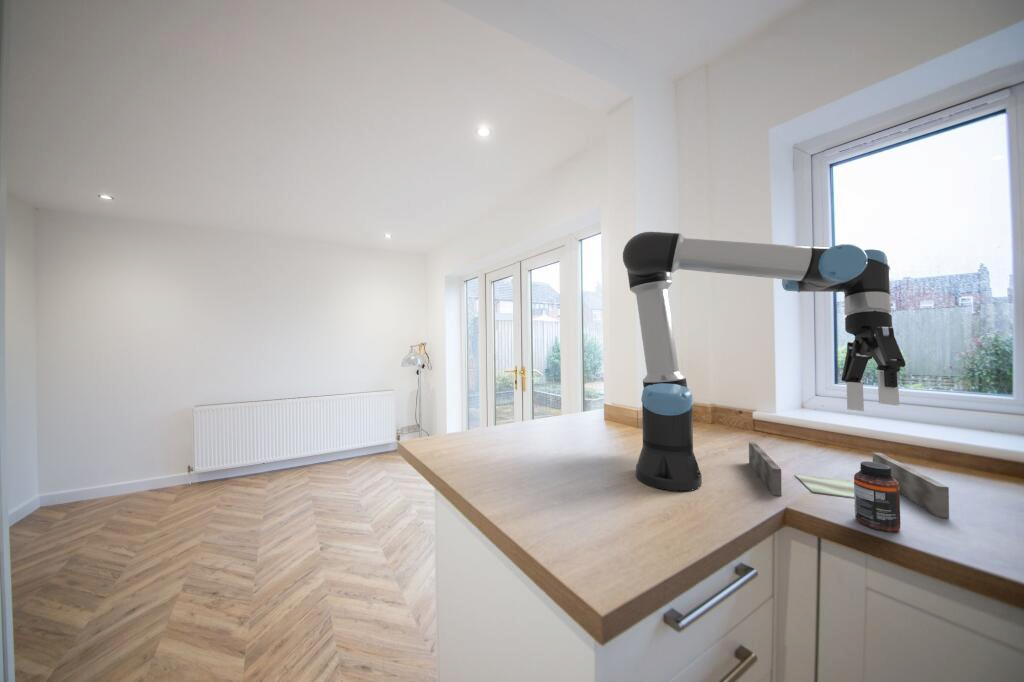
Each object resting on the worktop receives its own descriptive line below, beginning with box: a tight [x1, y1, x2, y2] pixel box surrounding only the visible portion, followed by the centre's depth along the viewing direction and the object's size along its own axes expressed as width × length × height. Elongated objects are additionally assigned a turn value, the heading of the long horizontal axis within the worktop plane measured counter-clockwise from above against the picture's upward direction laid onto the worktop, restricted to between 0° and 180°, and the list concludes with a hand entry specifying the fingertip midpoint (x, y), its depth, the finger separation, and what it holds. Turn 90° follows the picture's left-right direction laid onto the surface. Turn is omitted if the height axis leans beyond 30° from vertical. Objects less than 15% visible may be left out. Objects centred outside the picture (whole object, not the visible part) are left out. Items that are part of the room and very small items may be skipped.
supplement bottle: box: [853, 460, 902, 532], centre depth 65 cm, size 6×6×11 cm
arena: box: [748, 441, 950, 519], centre depth 83 cm, size 22×28×6 cm
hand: (870, 407), depth 75 cm, fingers open, 13 cm apart
